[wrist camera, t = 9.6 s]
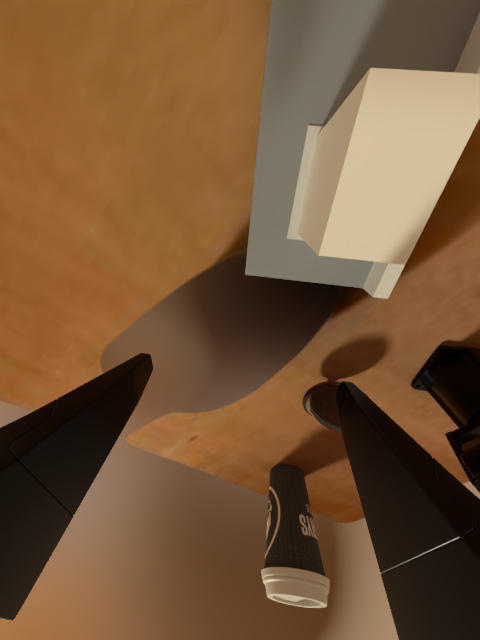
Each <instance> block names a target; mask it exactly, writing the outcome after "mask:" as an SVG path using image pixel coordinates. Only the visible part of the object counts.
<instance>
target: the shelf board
mask: <svg viewBox="0 0 480 640" xmlns="http://www.w3.org/2000/svg"><path fill="white" fill-rule="evenodd" d="M370 68H385V69H402V70H420V71H438V72H455V73H473V74H480V0H271V11H270V21H269V32H268V42H267V52H266V63H265V73H264V83H263V94H262V104H261V115H260V125H259V135H258V146H257V156H256V166H255V177H254V187H253V197H252V208H251V218H250V229H249V239H248V249H247V261H246V271H245V274H246V275H253V276H262V277H271V278H279V279H288V280H297V281H305V282H314V283H323V284H332V285H340V286H349V287H358V288H363V289H364V290H366V291H367V292H368V293H369V294H370V295H371V296H372V297H377V298H386V299H388V298H389V296H390V294H391V292H392V290H393V288H394V286H395V284H396V282H397V280H398V278H399V276H400V274H401V272H402V270H403V268H404V266H405V265H401V264H392V263H383V262H374V261H364V260H355V259H346V258H336V257H327V256H318V255H317V254H316V253H315V252H314V250H313V249H312V248H311V247H310V246H309V245H308V244H307V243H306V242H305V241H304V240H303V239H302V238H301V237H300V236H299V235H298V234H297V229H298V224H299V219H300V215H301V210H302V205H303V200H304V196H305V191H306V186H307V181H308V176H309V172H310V167H311V162H312V157H313V153H314V148H315V143H316V138H317V136H318V134H319V133H320V132H321V130H322V129H323V128H324V127H325V125H326V124H327V123H328V122H329V120H330V119H331V118H332V116H333V115H334V114H335V113H336V111H337V110H338V109H339V107H340V106H341V105H342V104H343V102H344V101H345V100H346V98H347V97H348V96H349V95H350V93H351V92H352V91H353V89H354V88H355V87H356V86H357V84H358V83H359V82H360V81H361V79H362V78H363V77H364V75H365V74H366V73H367V72H368V70H369V69H370ZM479 118H480V117H479ZM478 120H479V119H478ZM477 122H478V121H477ZM476 124H477V123H476ZM475 126H476V125H475ZM474 128H475V127H474ZM473 130H474V129H473ZM472 132H473V131H472ZM471 134H472V133H471ZM470 136H471V135H470ZM469 138H470V137H469ZM468 140H469V139H468ZM467 142H468V141H467ZM466 144H467V143H466ZM465 146H466V145H465ZM464 148H465V147H464ZM463 150H464V149H463ZM462 152H463V151H462ZM461 154H462V153H461ZM460 156H461V155H460ZM446 183H447V182H446ZM445 185H446V184H445ZM444 187H445V186H444ZM443 189H444V188H443ZM442 191H443V190H442ZM441 193H442V192H441ZM440 195H441V194H440ZM439 197H440V196H439ZM438 199H439V198H438ZM437 201H438V200H437ZM436 203H437V202H436ZM435 205H436V204H435ZM434 207H435V206H434ZM433 209H434V208H433ZM432 211H433V210H432ZM431 213H432V212H431ZM430 215H431V214H430ZM429 217H430V216H429ZM428 219H429V218H428ZM427 221H428V220H427ZM426 223H427V222H426ZM425 225H426V224H425ZM424 227H425V226H424ZM406 262H407V261H406ZM405 264H406V263H405Z"/></svg>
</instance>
